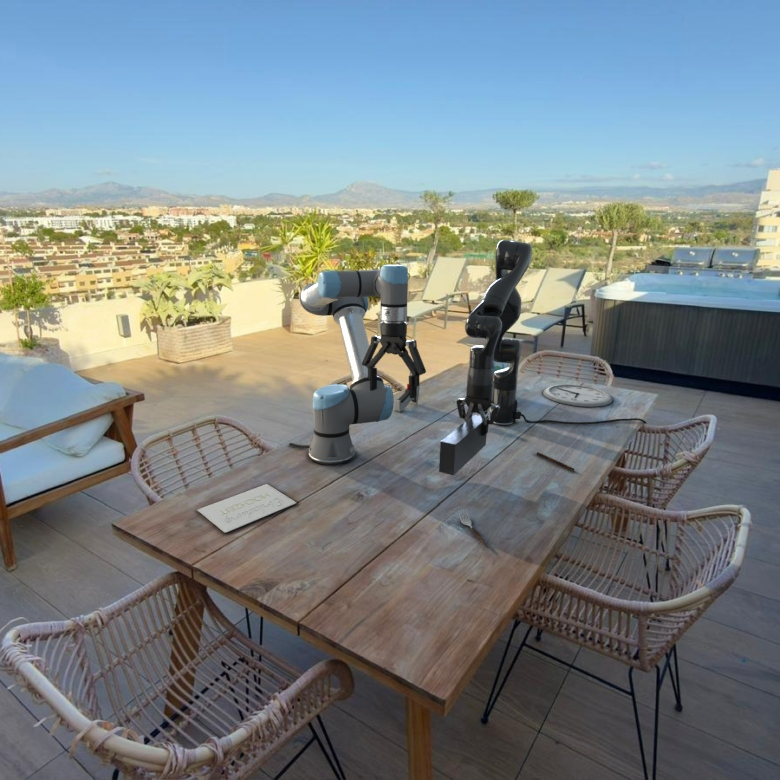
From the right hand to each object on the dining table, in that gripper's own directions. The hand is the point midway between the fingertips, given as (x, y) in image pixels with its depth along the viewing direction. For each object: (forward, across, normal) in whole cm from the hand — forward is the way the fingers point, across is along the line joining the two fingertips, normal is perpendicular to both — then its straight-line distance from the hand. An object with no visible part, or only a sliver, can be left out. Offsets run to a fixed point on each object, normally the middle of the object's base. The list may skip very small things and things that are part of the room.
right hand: (476, 433), depth 162 cm
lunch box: (+13, -20, +70) cm, 74 cm away
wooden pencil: (+12, +21, +18) cm, 30 cm away
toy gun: (+13, -46, +40) cm, 62 cm away
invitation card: (+12, -43, -55) cm, 71 cm away
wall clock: (+13, +12, +97) cm, 98 cm away
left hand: (-14, -20, -18) cm, 30 cm away
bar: (+5, 0, -9) cm, 10 cm away
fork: (+12, +14, -34) cm, 39 cm away
